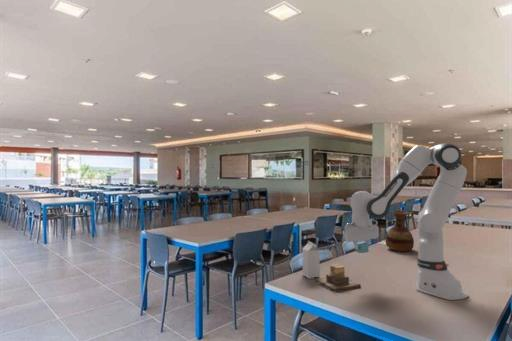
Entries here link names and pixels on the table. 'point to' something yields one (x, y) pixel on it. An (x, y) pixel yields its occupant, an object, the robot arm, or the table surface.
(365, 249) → the teal cube
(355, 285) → the walnut base
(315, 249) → the milk carton
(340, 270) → the oak cube
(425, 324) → the table surface
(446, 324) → the table surface
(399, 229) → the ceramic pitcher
